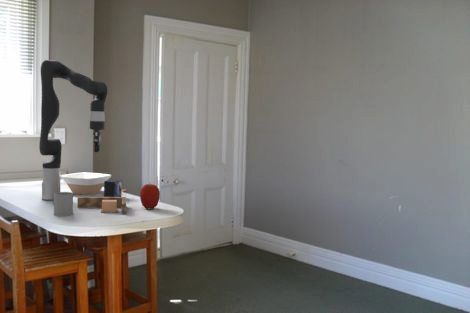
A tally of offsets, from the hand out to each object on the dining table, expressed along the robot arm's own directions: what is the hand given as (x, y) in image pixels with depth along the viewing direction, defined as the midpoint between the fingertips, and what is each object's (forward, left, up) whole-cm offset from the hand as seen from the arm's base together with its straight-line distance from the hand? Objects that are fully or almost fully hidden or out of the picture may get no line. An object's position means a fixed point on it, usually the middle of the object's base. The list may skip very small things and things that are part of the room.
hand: (96, 151), depth 265 cm
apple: (+27, -12, -28) cm, 41 cm away
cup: (-14, -24, -28) cm, 40 cm away
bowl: (-8, +41, -28) cm, 51 cm away
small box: (+8, +20, -28) cm, 36 cm away
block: (+7, -18, -28) cm, 34 cm away
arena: (+3, -15, -28) cm, 32 cm away
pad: (+7, -18, -28) cm, 34 cm away
